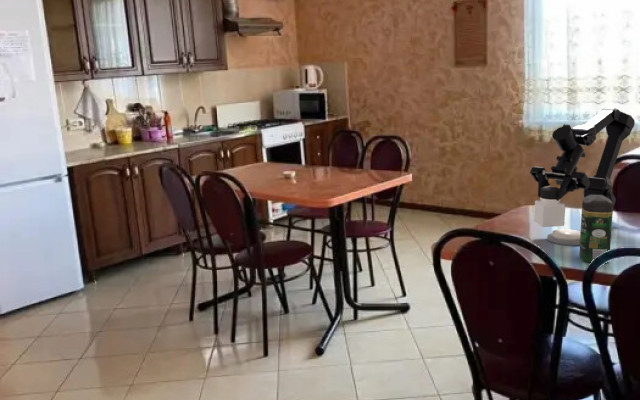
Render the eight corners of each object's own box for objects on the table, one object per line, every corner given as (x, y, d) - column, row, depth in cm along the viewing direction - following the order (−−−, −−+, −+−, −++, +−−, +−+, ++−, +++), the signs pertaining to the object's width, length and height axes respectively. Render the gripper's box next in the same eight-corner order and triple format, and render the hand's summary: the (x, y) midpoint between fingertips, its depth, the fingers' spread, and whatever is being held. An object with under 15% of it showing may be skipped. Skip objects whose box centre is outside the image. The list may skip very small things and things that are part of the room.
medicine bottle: (564, 226, 198) (566, 189, 196) (542, 227, 198) (544, 190, 195) (555, 220, 205) (557, 184, 203) (533, 221, 205) (535, 185, 202)
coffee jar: (577, 253, 185) (580, 192, 181) (606, 255, 183) (610, 193, 179) (580, 263, 176) (584, 199, 172) (611, 265, 174) (616, 200, 170)
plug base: (557, 233, 207) (557, 226, 206) (593, 239, 199) (594, 232, 198) (540, 241, 199) (540, 233, 198) (577, 247, 190) (578, 240, 190)
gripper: (604, 177, 200) (584, 217, 196) (552, 171, 215) (532, 208, 211) (592, 156, 194) (571, 197, 190) (539, 151, 208) (518, 188, 204)
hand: (547, 198), depth 199 cm, fingers closed on medicine bottle, 6 cm apart
